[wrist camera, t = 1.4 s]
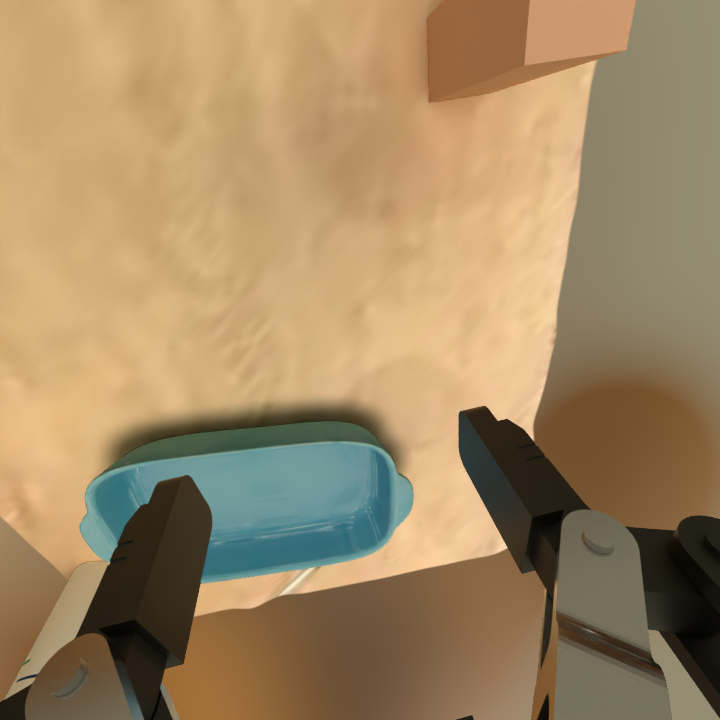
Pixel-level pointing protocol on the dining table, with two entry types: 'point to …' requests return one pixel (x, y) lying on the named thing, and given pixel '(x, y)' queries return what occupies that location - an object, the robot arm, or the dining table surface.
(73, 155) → the dining table surface
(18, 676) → the cylindrical container
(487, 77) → the pillar
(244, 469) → the casserole dish
